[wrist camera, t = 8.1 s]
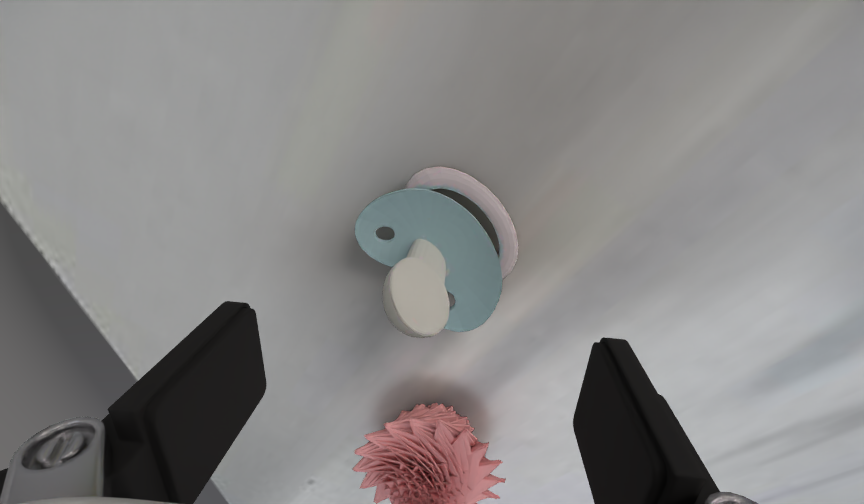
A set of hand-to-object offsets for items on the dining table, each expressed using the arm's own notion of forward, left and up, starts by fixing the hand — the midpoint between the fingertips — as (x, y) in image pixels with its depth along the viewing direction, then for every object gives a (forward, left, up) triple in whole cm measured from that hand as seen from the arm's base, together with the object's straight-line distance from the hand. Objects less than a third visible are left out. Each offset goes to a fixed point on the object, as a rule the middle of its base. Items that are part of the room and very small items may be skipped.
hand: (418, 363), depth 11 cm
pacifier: (0, 0, -9) cm, 9 cm away
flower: (0, +12, -9) cm, 15 cm away
